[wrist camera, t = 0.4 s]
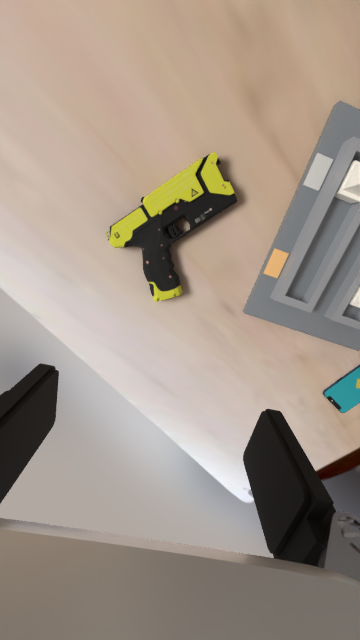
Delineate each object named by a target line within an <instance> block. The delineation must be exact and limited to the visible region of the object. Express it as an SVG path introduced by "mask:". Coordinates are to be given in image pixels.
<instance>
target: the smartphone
mask: <svg viewBox="0 0 360 640" xmlns="http://www.w3.org/2000/svg"><path fill="white" fill-rule="evenodd" d="M323 395H324V396H325V397H326V398H327V399H328V400H329V401H330V402H331V403H332V404H333V405H334V406H335V407H336V408H337V409H338V410H339V411H340V412H341V413H345V412H347V411H348V410H350V409H351V408H353V407H354V406H356V405H357V404H358V403H360V365H359V366H357V367H356V368H355V369H353V370H352V371H350V372H349V373H348V374H346V375H345V376H343V377H341V378H340V379H339V380H337V381H336V382H335V383H334V384H332V385H331V386H329V387H328V388H327V389H325V390H324V391H323Z"/></svg>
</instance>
